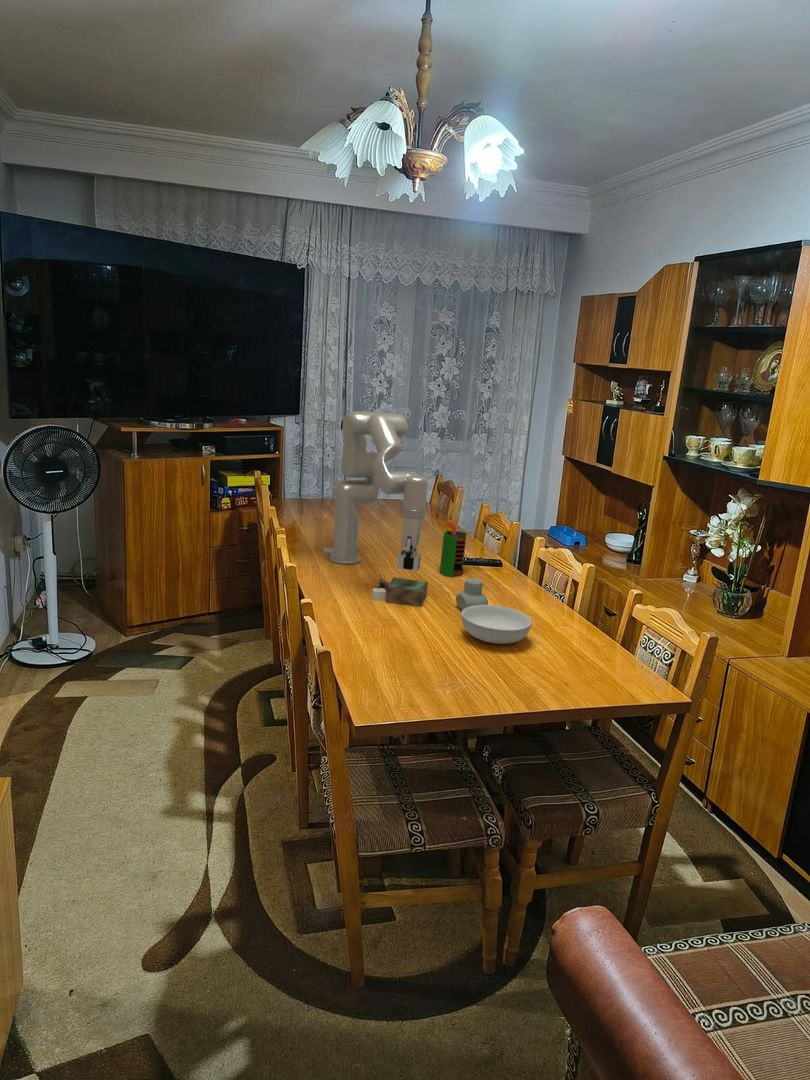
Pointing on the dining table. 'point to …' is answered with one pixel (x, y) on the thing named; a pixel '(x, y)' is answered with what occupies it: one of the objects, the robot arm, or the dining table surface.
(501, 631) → the serving bowl
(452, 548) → the motor
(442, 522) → the dining table surface
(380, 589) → the block
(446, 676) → the dining table surface
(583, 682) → the dining table surface
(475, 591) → the grey pipe tee
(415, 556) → the housing
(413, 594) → the plinth
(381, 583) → the loose bolt
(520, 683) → the dining table surface
